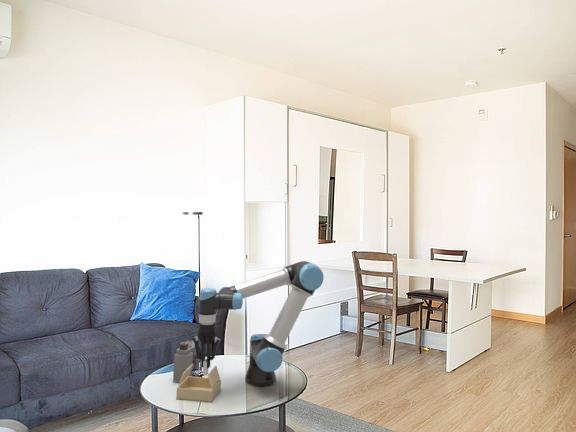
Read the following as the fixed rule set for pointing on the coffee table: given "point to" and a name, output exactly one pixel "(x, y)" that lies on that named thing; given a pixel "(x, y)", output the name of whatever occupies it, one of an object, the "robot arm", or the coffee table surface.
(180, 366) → the perfume bottle
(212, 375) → the flap
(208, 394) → the carton
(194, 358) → the figurine
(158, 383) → the coffee table surface
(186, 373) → the flap
